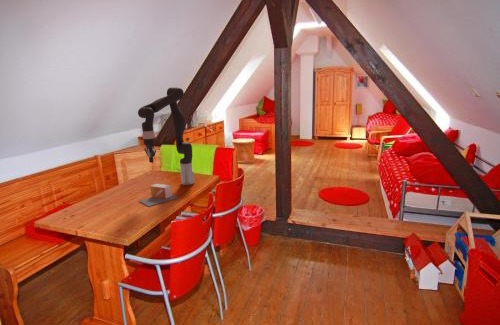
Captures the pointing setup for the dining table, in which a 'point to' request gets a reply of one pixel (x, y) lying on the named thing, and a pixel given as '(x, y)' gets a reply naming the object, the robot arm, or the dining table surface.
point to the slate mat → (156, 200)
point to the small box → (161, 191)
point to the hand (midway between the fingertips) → (151, 162)
